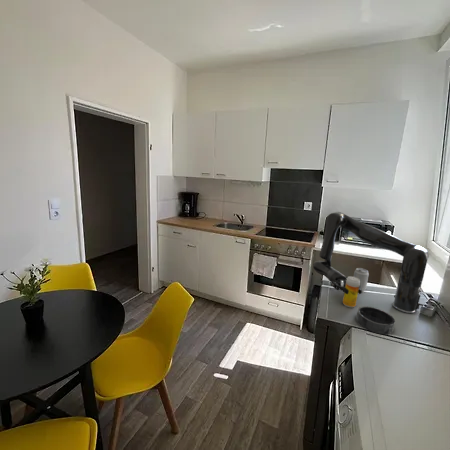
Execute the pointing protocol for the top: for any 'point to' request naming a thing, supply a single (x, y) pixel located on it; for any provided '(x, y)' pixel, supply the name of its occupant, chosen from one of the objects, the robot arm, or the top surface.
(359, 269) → the can
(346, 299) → the beer can
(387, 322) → the dark grey bowl
